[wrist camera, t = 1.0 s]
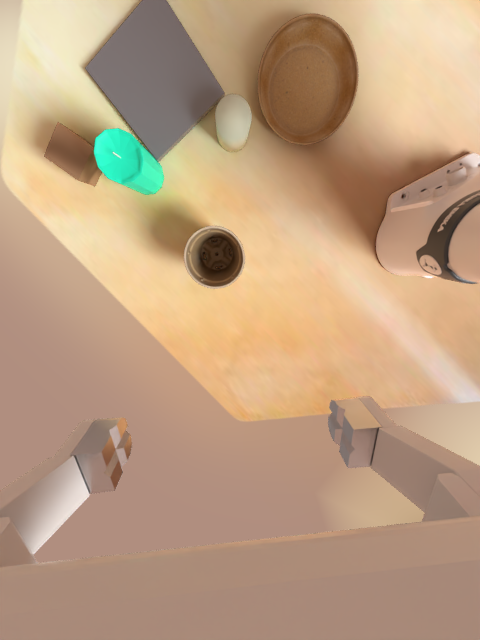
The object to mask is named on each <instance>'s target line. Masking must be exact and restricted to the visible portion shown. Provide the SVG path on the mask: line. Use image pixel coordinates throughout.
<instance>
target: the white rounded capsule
mask: <svg viewBox="0 0 480 640" xmlns="http://www.w3.org/2000/svg"><path fill="white" fill-rule="evenodd" d="M251 120H252V114H251V109H250V107H249V104H248V103H247V101H246V100H245V99H244V98H243V97H241V96H240V95H237V94H229V95H226V96H225V97H223V98H222V99H221V100H220V101H219V103H218V105H217V107H216V111H215V121H216V131H217V138H218V141H219V144H220V145H221V146H222V148H223V149H225V150H226V151H228V152H237V151H239V150H241V149H242V148H243V147H244V146H245V144H246V142H247V138H248V134H249V130H250V125H251Z"/></svg>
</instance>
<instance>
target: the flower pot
mask: <svg viewBox="0 0 480 640" xmlns="http://www.w3.org/2000/svg"><path fill="white" fill-rule="evenodd" d="M213 240H218V241H216V242H212V241H213ZM229 248H230V249H231V252H232V253H231V255H229ZM203 253H205V254H206V258H207V259H204V257H203ZM216 253H218V255H216ZM184 263H185V267H186V269H187V271H188V273H189V275H190V276H191V277H192V279H193V280H195V282H197V283H198V284H200V285H202V286H204V287H207V288H213V289H218V288H223V287H226V286H229V285H231V284H232V283H233V282H235V281H236V280H237V279H238V278H239V276H240V275H241V273H242V271H243V268H244V264H245V253H244V249H243V246H242V244H241V242H240V240H239V239H238V237H237V236H236V235H235V234H234V233H233V232H231V231H230V230H228V229H226V228H224V227H220V226H207V227H204V228H201V229H199V230H197V231H196V232H195V233H194V234H193V235H192V236H191V237H190V238H189V240H188V241H187V244H186V246H185V250H184ZM216 266H223V267H221V268H216Z"/></svg>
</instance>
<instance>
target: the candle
mask: <svg viewBox="0 0 480 640" xmlns="http://www.w3.org/2000/svg"><path fill="white" fill-rule="evenodd" d="M94 155H95V158H96V162H97V165H98V168H99V169H100V170H101V171H102V172H103V173H104V174H105V175H106V177H107V178H108V179H111V180H113V181H115V182H117V183H120V184H122V185H124V186H127V187H129V188H131V189H134V190H136V191H138V192H140V193H143V194H145V195H149V194H155V193H156V192H157V191H158V190H159V189H160V188H161V187H162V184H163V180H164V175H163V170H162V167H161V165H160V164H159V163H158V161H157V160H156V159H155V158H154V157H153V156H152V155H151V154H150V153H149V152H148V151H147V150H146V149H145V148H144V147H143V146H142V145H141V144H140V142H139V141H138V140H137V139H136V138H135V137H134V136H133V135H132V134H130V133H128V132H126V131H123V130H121V129H119V128H116V129H107V130H104V131H103V132H102V133H101V134H100V135H99V136H97V137H96V138H95V147H94Z"/></svg>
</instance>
